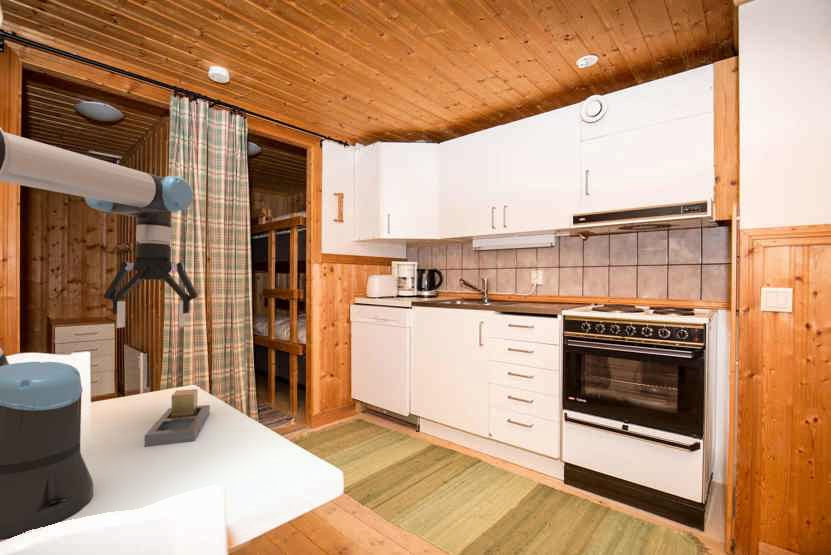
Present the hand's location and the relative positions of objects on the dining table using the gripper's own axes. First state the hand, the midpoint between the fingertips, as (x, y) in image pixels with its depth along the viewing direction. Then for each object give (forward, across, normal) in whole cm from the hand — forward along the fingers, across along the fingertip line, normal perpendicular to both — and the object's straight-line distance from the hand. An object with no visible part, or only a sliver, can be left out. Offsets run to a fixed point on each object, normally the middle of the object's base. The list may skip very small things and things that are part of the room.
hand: (151, 326), depth 102 cm
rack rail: (+26, -8, +2) cm, 27 cm away
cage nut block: (+26, -8, -2) cm, 27 cm away
